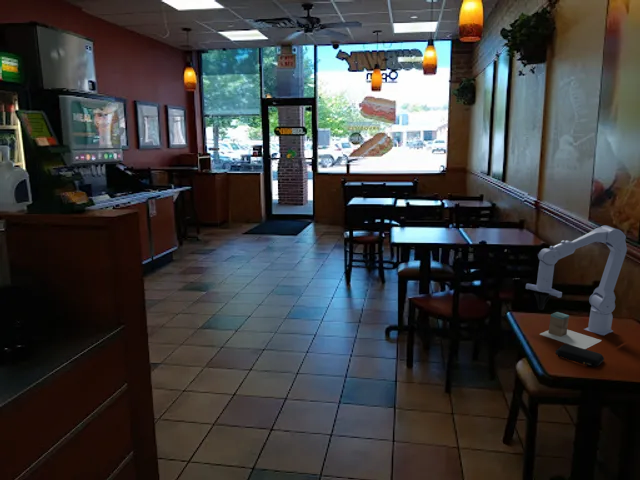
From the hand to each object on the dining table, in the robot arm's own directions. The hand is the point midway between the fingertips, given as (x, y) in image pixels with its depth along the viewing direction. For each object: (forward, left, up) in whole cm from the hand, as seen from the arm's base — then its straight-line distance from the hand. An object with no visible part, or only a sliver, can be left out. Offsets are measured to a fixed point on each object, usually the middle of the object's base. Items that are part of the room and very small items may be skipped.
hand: (540, 309), depth 211 cm
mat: (-1, +13, -8) cm, 16 cm away
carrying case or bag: (+16, +24, -9) cm, 30 cm away
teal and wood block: (0, +8, -8) cm, 11 cm away
